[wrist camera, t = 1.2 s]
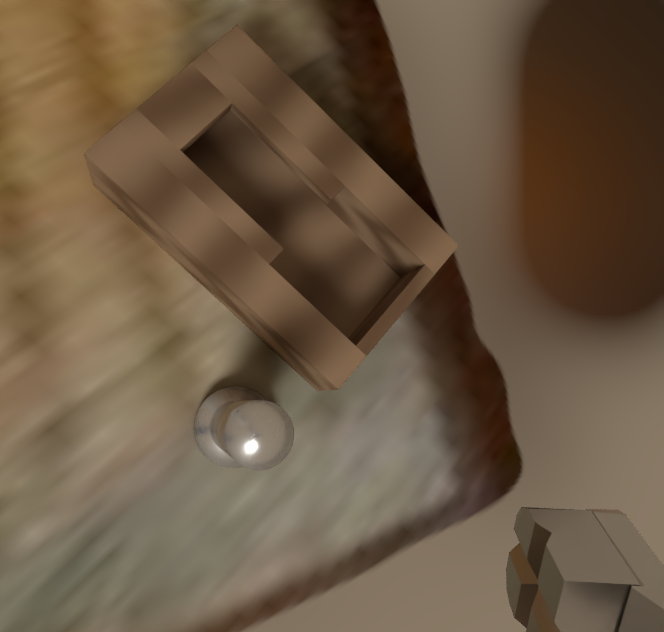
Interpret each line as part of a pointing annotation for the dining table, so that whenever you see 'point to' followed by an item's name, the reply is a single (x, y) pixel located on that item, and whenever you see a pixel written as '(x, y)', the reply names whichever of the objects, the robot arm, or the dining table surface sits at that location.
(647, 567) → the robot arm
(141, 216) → the wooden compartment tray
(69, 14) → the dining table surface
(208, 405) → the steel peg
